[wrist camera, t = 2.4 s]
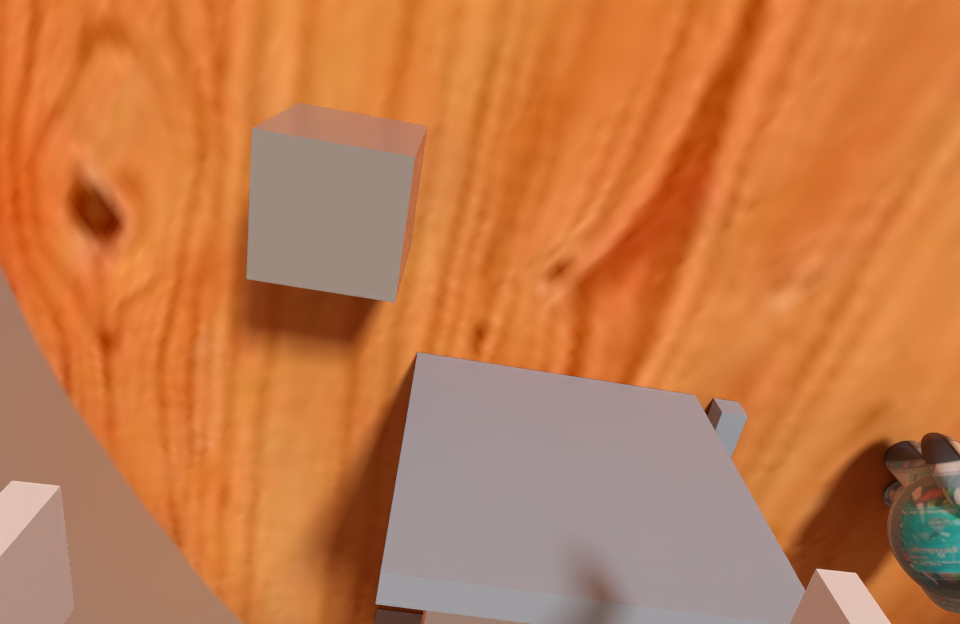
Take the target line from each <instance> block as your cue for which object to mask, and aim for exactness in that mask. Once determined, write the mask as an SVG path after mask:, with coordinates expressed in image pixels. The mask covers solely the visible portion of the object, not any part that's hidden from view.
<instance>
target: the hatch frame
mask: <svg viewBox="0 0 960 624" xmlns="http://www.w3.org/2000/svg"><path fill="white" fill-rule="evenodd" d="M747 417H748V416H747V414H746V413H745V411H744V410H743V408H742V407H741V405H740V404H739V402H735V401H729V400H722V399H716V398H714V399H713V402H712V404H711V407H710V410H709V412H708V415H706V413H705V412H704V410H703V408H702V406H701V405H700V403H699V401H698V399H697V398H696V396H695V395H690V394H684V393H677V392H671V391H664V390H658V389H651V388H645V387H639V386H632V385H626V384H619V383H613V382H606V381H600V380H593V379H587V378H580V377H574V376H568V375H561V374H555V373H548V372H542V371H535V370H529V369H522V368H516V367H509V366H503V365H497V364H490V363H484V362H477V361H471V360H464V359H458V358H451V357H445V356H438V355H432V354H426V353H419V352H418V353H417V359H416V365H415V371H414V377H413V383H412V389H411V394H410V400H409V406H408V412H407V418H406V424H405V430H404V436H403V442H402V448H401V454H400V460H399V465H398V471H397V477H396V483H395V489H394V495H393V501H392V507H391V513H390V519H389V525H388V531H387V536H386V542H385V548H384V554H383V560H382V566H381V572H380V578H379V585H378V591H377V597H376V604H378V605H386V606H394V607H402V608H410V609H418V610H426V611H434V612H442V613H450V614H458V615H466V616H474V617H482V618H490V619H498V620H506V621H514V622H522V623H530V624H790V623H791V620H792V618H793V616H794V614H795V612H796V610H797V608H798V606H799V603H800V601H801V599H802V597H803V595H804V593H805V589H804V587H803V586H802V584H801V582H800V580H799V578H798V577H797V575H796V573H795V571H794V570H793V568H792V566H791V564H790V562H789V561H788V559H787V557H786V555H785V554H784V552H783V550H782V548H781V547H780V545H779V543H778V541H777V539H776V538H775V536H774V534H773V532H772V531H771V529H770V527H769V525H768V523H767V522H766V520H765V518H764V516H763V515H762V513H761V511H760V509H759V507H758V506H757V504H756V502H755V500H754V499H753V497H752V495H751V493H750V492H749V490H748V488H747V486H746V484H745V483H744V481H743V479H742V477H741V476H740V474H739V472H738V470H737V468H736V467H735V465H734V463H733V461H732V460H731V457H732V454H733V452H734V449H735V447H736V444H737V442H738V439H739V437H740V434H741V432H742V429H743V427H744V424H745V422H746V420H747ZM421 620H422V614H414V613H406V612H398V611H390V610H382V609H377V611H376V617H375V623H374V624H421Z"/></svg>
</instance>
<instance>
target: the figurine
mask: <svg viewBox="0 0 960 624" xmlns="http://www.w3.org/2000/svg"><path fill="white" fill-rule="evenodd" d="M885 464H886V467H887V468H888V469H889V470H890V472H891V473H892V474H893V475H894V476H895V477H896V478H897V479H898V481H896V482H894V483H893V484H891V485H890V486H889V487H888V488H887V490H886V491H885V494H884V502H885V504H886V505H887V506H888V508H889V509H890V511H889V514H888V520H887V534H888V540H889V544H890V547H891V549H892V552H893V554H894V556H895V558H896V560H897V561H898V563H899V564H900V566H901V567H902V568H903V570H904V571H905V572H906V573H907V574H908V575H909V576H910V577H911V578H912V579H913V580H914V581H915V582H916V583H918V584H919V585H920V586H921V587H922V588H923V590H924V591H925V593H926V594H927V595H928V597H929V598H930V599H931V600H932V601H933V602H934V603H935V604H937V605H938V606H940V607H941V608H943V609H945V610H947V611H950V612H953V613H958V614H960V442H959V441H957V440H955V439H953V438H951V437H949V436H947V435H944V434H940V433H928V434H926V435H925V436H924V437H923V438H922V440H921V444H920V443H919V442H916V441H903V442H900V443H898V444H896V445H895V446H893V447H892V448H891V449H890V450H889V451H888V453H887V455H886V457H885Z"/></svg>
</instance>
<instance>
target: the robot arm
mask: <svg viewBox="0 0 960 624" xmlns="http://www.w3.org/2000/svg"><path fill="white" fill-rule="evenodd" d="M74 608H75V605H74V596H73V588H72V580H71V571H70V562H69V554H68V546H67V538H66V529H65V521H64V513H63V504H62V495H61V488H60V486H55V485H46V484H37V483H27V482H19V481H11V483H9V484H8V485H7V487H6V488H5V489H4V490H3V491H2V492H1V493H0V624H64V623H65V622H66V620H67V619H68V617H69V616H70V614H71V613H72V611H73V610H74ZM790 624H891V623H890V622H889V620H888V619H887V617H886V616H885V614H884V613H883V611H882V610H881V608H880V607H879V606H878V604H877V603H876V601H875V600H874V598H873V597H872V595H871V594H870V592H869V591H868V590H867V588H866V587H865V585H864V584H863V582H862V581H861V579H860V578H859V576H858V575H857V574H856V573H852V572H843V571H834V570H825V569H815V571H814V574H813V576H812V578H811V580H810V582H809V584H808V586H807V588H806V591H805V593H804V595H803V597H802V599H801V601H800V603H799V606H798V608H797V610H796V612H795V614H794V616H793V618H792V620H791V623H790Z"/></svg>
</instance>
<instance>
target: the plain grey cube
mask: <svg viewBox="0 0 960 624" xmlns="http://www.w3.org/2000/svg"><path fill="white" fill-rule="evenodd" d="M426 132H427V126H426V125H420V124H415V123H409V122H403V121H398V120H392V119H387V118H381V117H376V116H370V115H364V114H359V113H353V112H348V111H342V110H337V109H331V108H325V107H320V106H314V105H309V104H303V103H297V104H295V105H293V106H292V107H290V108H288V109H286V110H284V111H283V112H281V113H279V114H277V115H275V116H274V117H272V118H270V119H268V120H266V121H265V122H263V123H261V124H259V125H257V126H255V127H254V128H252V144H251V171H250V197H249V224H248V250H247V277H246V279H249V280H255V281H261V282H268V283H274V284H280V285H287V286H293V287H299V288H306V289H312V290H318V291H325V292H331V293H337V294H344V295H350V296H356V297H363V298H369V299H375V300H382V301H388V302H394V303H395V302H396V298H397V294H398V291H399V287H400V283H401V279H402V276H403V272H404V268H405V264H406V261H407V257H408V253H409V249H410V245H411V238H412V231H413V224H414V217H415V210H416V203H417V196H418V189H419V182H420V175H421V168H422V161H423V154H424V146H425V139H426Z"/></svg>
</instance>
